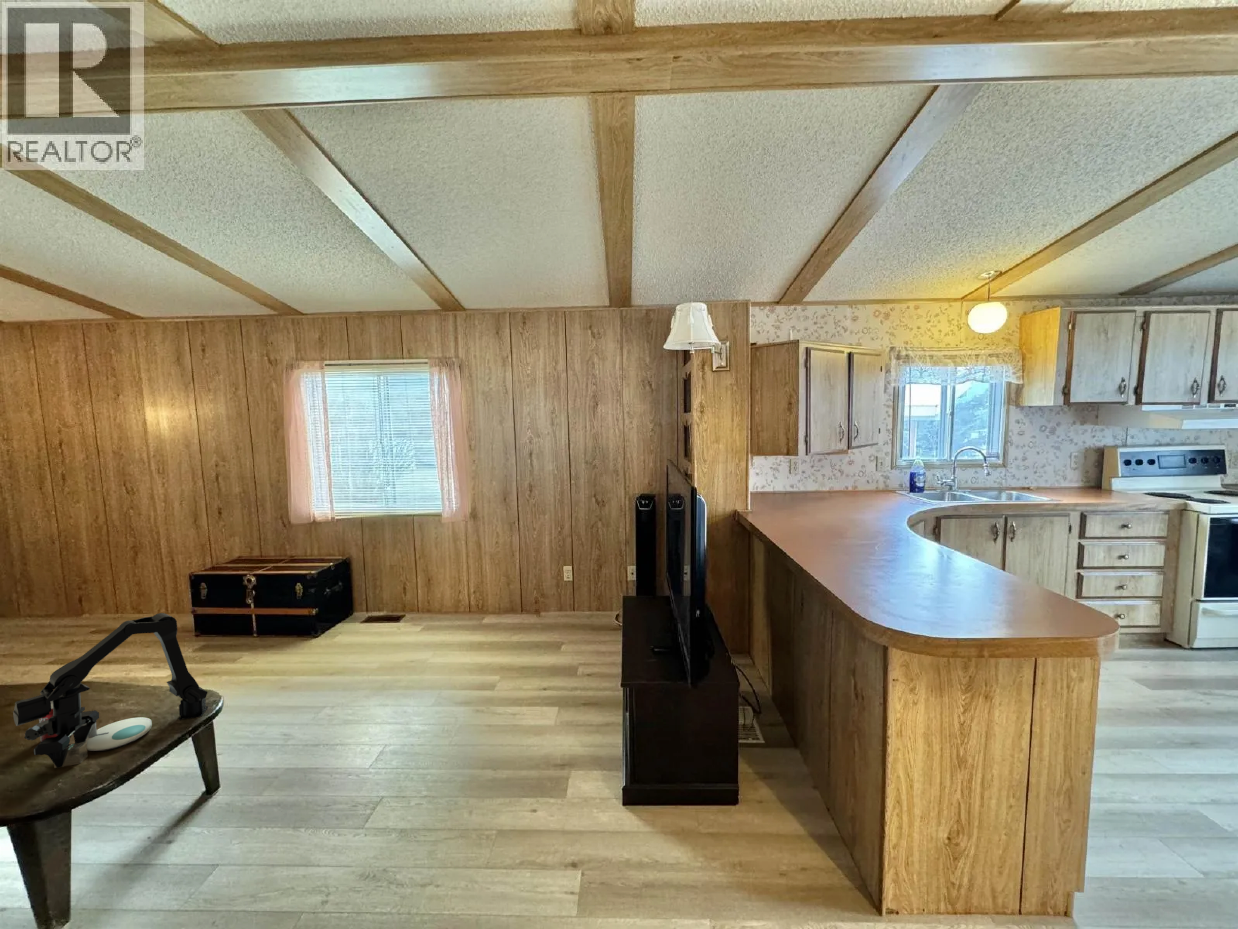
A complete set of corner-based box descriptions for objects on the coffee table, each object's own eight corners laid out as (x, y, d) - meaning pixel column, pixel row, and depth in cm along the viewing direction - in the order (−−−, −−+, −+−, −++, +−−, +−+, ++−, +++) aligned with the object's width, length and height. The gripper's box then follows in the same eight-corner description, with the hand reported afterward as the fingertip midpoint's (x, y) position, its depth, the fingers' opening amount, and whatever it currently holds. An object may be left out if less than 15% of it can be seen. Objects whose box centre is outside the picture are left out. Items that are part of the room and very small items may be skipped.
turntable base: (153, 723, 174) (153, 721, 174) (133, 745, 162) (133, 743, 162) (90, 733, 168) (89, 731, 168) (63, 757, 156) (63, 755, 156)
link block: (87, 756, 157) (86, 741, 156) (80, 763, 153) (79, 748, 153) (62, 761, 154) (61, 745, 154) (54, 768, 151) (53, 752, 151)
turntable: (115, 722, 173) (114, 704, 173) (164, 720, 174) (163, 703, 174) (68, 751, 157) (67, 732, 157) (122, 749, 158) (121, 730, 158)
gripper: (53, 698, 158) (55, 745, 159) (7, 731, 141) (10, 784, 142) (99, 692, 162) (101, 738, 163) (59, 724, 145) (62, 775, 146)
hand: (69, 757), depth 154 cm, fingers open, 9 cm apart
